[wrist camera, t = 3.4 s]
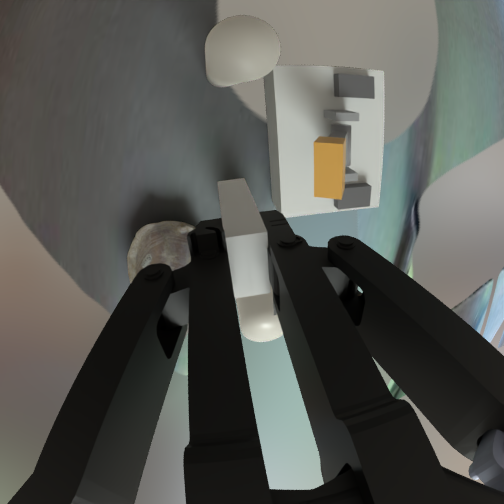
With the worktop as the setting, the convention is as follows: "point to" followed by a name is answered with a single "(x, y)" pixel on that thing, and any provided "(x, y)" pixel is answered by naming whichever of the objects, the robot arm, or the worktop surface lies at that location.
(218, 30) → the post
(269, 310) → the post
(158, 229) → the seashell
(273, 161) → the panel
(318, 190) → the breaker lever
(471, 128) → the worktop surface
